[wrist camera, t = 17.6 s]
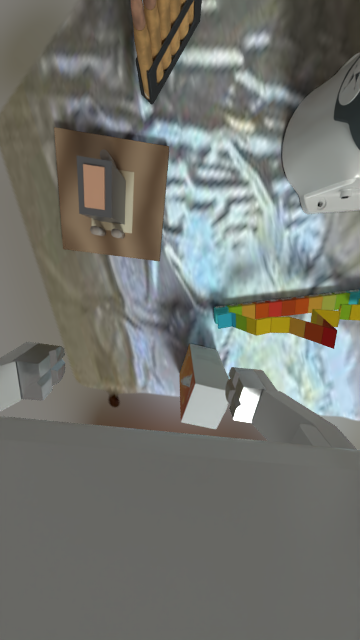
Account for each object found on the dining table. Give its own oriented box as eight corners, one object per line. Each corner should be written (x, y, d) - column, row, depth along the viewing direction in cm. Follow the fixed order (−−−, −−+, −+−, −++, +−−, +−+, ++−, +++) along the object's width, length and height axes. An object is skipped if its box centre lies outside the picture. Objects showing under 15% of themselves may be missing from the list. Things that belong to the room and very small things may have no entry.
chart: (368, 286, 38) (483, 309, 24) (365, 302, 39) (473, 332, 25) (213, 305, 38) (235, 338, 24) (214, 320, 39) (235, 360, 25)
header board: (169, 151, 30) (167, 132, 25) (159, 260, 35) (157, 262, 30) (60, 133, 28) (37, 110, 24) (67, 248, 34) (50, 248, 29)
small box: (188, 342, 41) (195, 382, 28) (217, 349, 41) (235, 391, 29) (178, 374, 43) (179, 423, 31) (205, 380, 44) (217, 430, 32)
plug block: (125, 180, 29) (111, 160, 22) (124, 224, 31) (110, 217, 25) (98, 176, 29) (75, 154, 22) (99, 221, 31) (78, 213, 24)
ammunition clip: (152, 105, 28) (136, 7, 16) (141, 94, 27) (117, -14, 16) (200, 20, 25) (221, -168, 14) (189, 6, 25) (201, -200, 13)
